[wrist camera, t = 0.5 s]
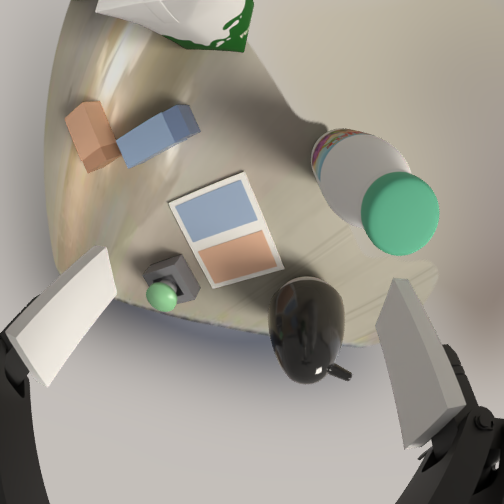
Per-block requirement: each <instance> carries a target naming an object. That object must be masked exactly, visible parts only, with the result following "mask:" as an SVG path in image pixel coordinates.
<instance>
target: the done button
mask: <svg viewBox="0 0 504 504" xmlns="http://www.w3.org/2000/svg"><path fill="white" fill-rule="evenodd" d="M176 292H177V287H176V285H175V284H174V283H173V282H172V281H170V280H168V279H163V280H161V281H160V282H156V283H153V284H151V285H150V287H149V288H148V290H147V292H146V297H147V300H148V301H149V303H150V304H151V305H152V306H153V307H154V308H156V309H157V310H160V311H164V312H168V311H171V310H173V309H174V307H175V305H176V304H177V300H178V299H177V295H176Z"/></svg>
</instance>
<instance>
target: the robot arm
mask: <svg viewBox="0 0 504 504" xmlns="http://www.w3.org/2000/svg"><path fill="white" fill-rule="evenodd" d="M116 294H117V291H116V287H115V283H114V279H113V274H112V270H111V265H110V261H109V256H108V251H107V247H104V246H97V245H95V246H93V247H92V248H91V249H90V250H89V251H87V252H86V253H85V254H84V255H83V256H82V257H80V258H79V259H78V260H77V261H76V262H75V263H74V264H72V265H71V266H70V267H69V268H68V269H67V270H66V271H65V272H64V273H62V274H61V275H60V276H59V277H58V278H57V279H56V280H55V281H54V282H53V283H52V284H51V285H50V286H49V287H48V288H46V289H45V290H44V291H43V292H42V293H41V294H40V295H38V296H36V297H35V298H34V299H32V300H31V302H30V303H28V304H27V307H24V309H23V310H22V311H21V313H19V314H18V315H17V316H16V317H15V318H14V319H13V320H12V321H11V322H10V323H9V324H8V325H7V327H6V328H5V329H4V330H3V331H2V332H1V333H0V504H50V503H49V500H48V496H47V493H46V489H45V486H44V482H43V478H42V474H41V470H40V466H39V460H38V455H37V450H36V444H35V438H34V431H33V423H32V413H31V401H30V384H29V383H30V382H29V379H28V377H27V374H28V373H29V372H30V373H31V375H32V376H33V377H34V379H35V380H36V381H37V382H39V383H40V384H42V385H44V386H46V387H49V385H50V384H51V382H52V381H53V379H54V378H55V376H56V375H57V373H58V372H59V370H60V368H61V367H62V366H63V364H64V363H65V362H66V360H67V359H68V357H69V356H70V355H71V353H72V352H73V350H74V349H75V347H76V346H77V345H78V343H79V342H80V341H81V339H82V338H83V337H84V335H85V334H86V333H87V331H88V330H89V329H90V327H91V326H92V325H93V323H94V322H95V321H96V320H97V318H98V317H99V316H100V314H101V313H102V312H103V311H104V309H105V308H106V306H107V305H108V304H109V303H110V302H111V300H112V299H113V298H114V297H115V296H116ZM375 326H376V330H377V333H378V336H379V340H380V343H381V347H382V350H383V354H384V358H385V361H386V365H387V369H388V373H389V377H390V380H391V385H392V389H393V394H394V398H395V403H396V407H397V412H398V417H399V422H400V427H401V433H402V438H403V444H404V450H405V449H412V448H417V447H422V446H423V445H425V444H426V443H427V442H428V441H429V440H432V445H433V446H432V447H430V448H429V449H428V450H427V451H425V452H424V453H423V454H422V455H421V456H420V457H419V458H418V460H421V459H422V458H423V457H424V459H423V461H422V463H421V465H420V466H419V468H418V470H417V472H416V473H415V475H414V476H413V478H412V480H411V481H410V483H409V484H408V486H407V487H406V489H405V490H404V492H403V493H402V495H401V496H400V498H399V499H398V501H397V502H396V503H395V504H504V419H500V418H494V416H493V414H492V412H491V411H490V410H488V409H487V408H485V407H482V406H478V404H477V401H476V399H475V396H474V393H473V391H472V388H471V386H470V383H469V381H468V378H467V376H466V375H465V372H464V369H463V367H462V366H461V362H460V360H459V358H458V356H457V354H456V353H455V351H454V350H453V349H452V348H451V347H450V346H449V345H448V344H447V345H442V344H441V342H440V339H439V337H438V335H437V333H436V331H435V329H434V327H433V325H432V323H431V321H430V319H429V317H428V315H427V313H426V311H425V309H424V307H423V305H422V304H421V302H420V300H419V298H418V296H417V294H416V293H415V291H414V289H413V287H412V285H411V284H410V282H409V280H408V279H401V278H393V280H392V283H391V286H390V288H389V291H388V294H387V297H386V299H385V302H384V305H383V307H382V310H381V313H380V315H379V318H378V320H377V323H376V325H375ZM498 461H499V468H498V469H495V465H496V463H497V462H498Z"/></svg>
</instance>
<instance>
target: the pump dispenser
mask: <svg viewBox="0 0 504 504" xmlns="http://www.w3.org/2000/svg"><path fill="white" fill-rule="evenodd" d="M268 326H269V334H270V339H271V343H272V347H273V350H274V352H275V355H276V358H277V360H278V362H279V364H280V366H281V368H282V369H283V371H284V372H285V374H286V375H287V376H288V377H289V378H290V379H291V380H293V381H294V382H296V383H299V384H305V385H309V384H314V383H317V382H319V381H321V380H322V379H323V378H324V377H326V375H327V374H330V375H332V376H335V377H338V378H340V379H343V380H345V381H349V380H350V379H351V377H352V373H351V372H349V371H347V370H345V369H344V368H342V367H340V366H339V365H337V364H335V361H336V359H337V357H338V355H339V352H340V349H341V346H342V342H343V336H344V328H345V311H344V305H343V301H342V298H341V296H340V295H339V293H338V292H337V291H336V290H335V289H334V288H333V287H332V286H331V285H329V284H328V283H327V282H325V281H323V280H321V279H319V278H316V277H308V276H306V277H299V278H295V279H293V280H290V281H289V282H287V283H286V284H284V285H283V286H282V287H281V288H280V289H279V290H278V291H277V292H276V293H275V294H274V296H273V297H272V299H271V301H270V304H269V309H268Z"/></svg>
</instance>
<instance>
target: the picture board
mask: <svg viewBox="0 0 504 504" xmlns="http://www.w3.org/2000/svg"><path fill="white" fill-rule="evenodd" d="M168 204H169V206H170V208H171V210H172V212H173V214H174V216H175V218H176V220H177V222H178V224H179V226H180V228H181V230H182V232H183V234H184V236H185V238H186V240H187V241H188V243H189V245H190V247H191V249H192V251H193V253H194V255H195V257H196V259H197V260H198V262H199V264H200V266H201V268H202V270H203V272H204V274H205V275H206V277H207V279H208V281H209V283H210V285H211V286H212V288H213V289H214V288H218V287H222V286H225V285H229V284H233V283H236V282H240V281H244V280H247V279H251V278H254V277H258V276H262V275H265V274H269V273H272V272H276V271H279V270H283V269H284V265H283V263H282V260H281V258H280V255H279V253H278V251H277V248H276V246H275V243H274V241H273V238H272V236H271V233H270V231H269V228H268V226H267V223H266V221H265V219H264V216H263V214H262V211H261V209H260V207H259V204H258V202H257V199H256V197H255V195H254V192H253V190H252V187H251V185H250V183H249V180H248V178H247V176H246V173H245V171H244V172H241V173H239V174H236V175H234V176H231V177H229V178H226V179H224V180H221V181H219V182H216V183H214V184H211V185H209V186H206V187H204V188H202V189H199V190H197V191H195V192H192V193H190V194H188V195H185V196H183V197H181V198H178V199H176V200H174V201H172V202H170V203H168Z"/></svg>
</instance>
